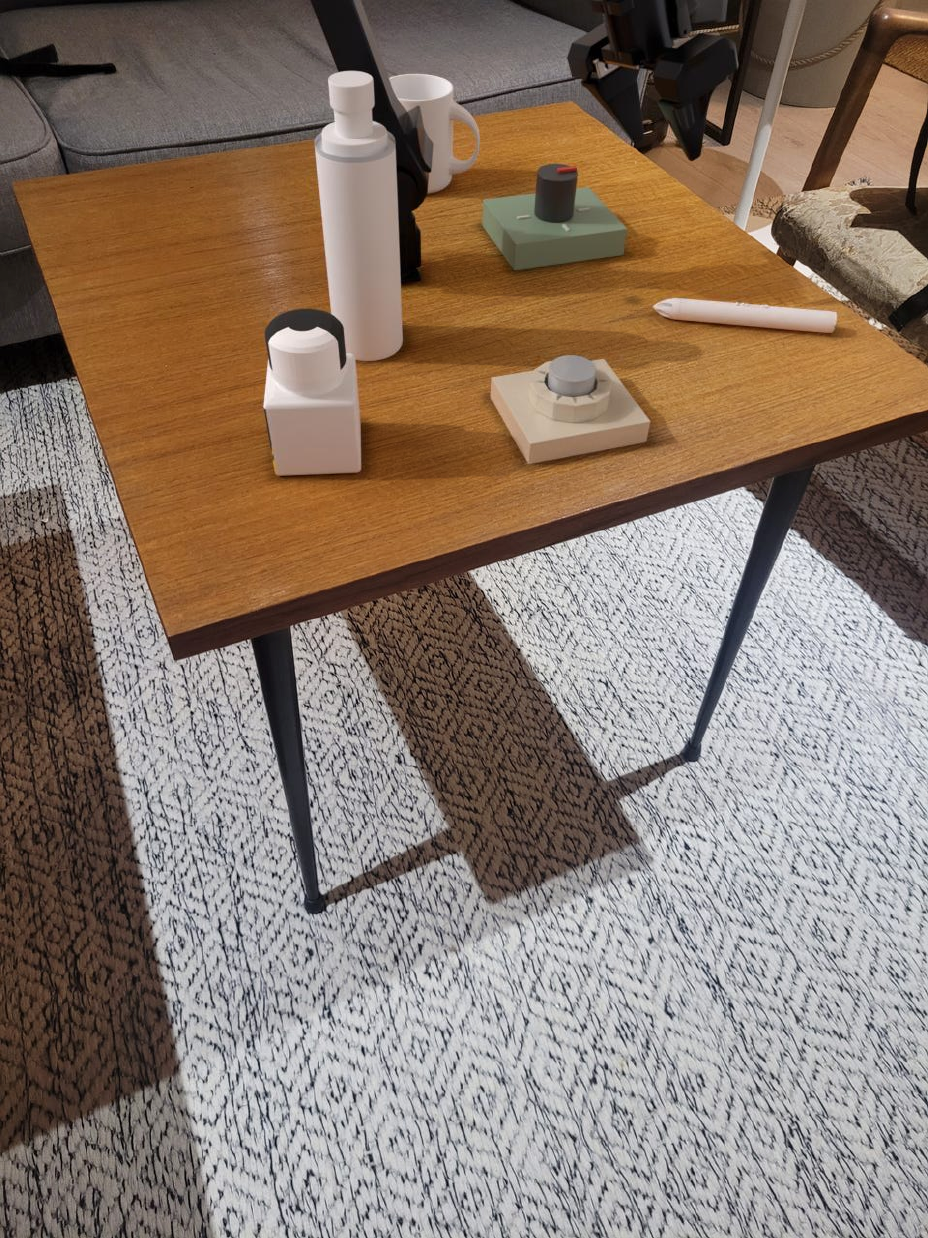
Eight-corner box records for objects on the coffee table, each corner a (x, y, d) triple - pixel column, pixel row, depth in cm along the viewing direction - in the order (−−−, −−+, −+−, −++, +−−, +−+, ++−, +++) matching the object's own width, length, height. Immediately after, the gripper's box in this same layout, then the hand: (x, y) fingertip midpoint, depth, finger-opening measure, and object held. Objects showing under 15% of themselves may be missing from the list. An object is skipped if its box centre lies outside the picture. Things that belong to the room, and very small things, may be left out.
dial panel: (513, 270, 100) (515, 242, 97) (481, 225, 106) (482, 197, 104) (623, 255, 102) (627, 227, 100) (585, 211, 109) (588, 184, 107)
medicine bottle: (279, 425, 81) (258, 299, 72) (360, 422, 81) (350, 296, 72) (275, 477, 76) (252, 349, 67) (361, 474, 76) (350, 346, 67)
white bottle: (407, 358, 88) (397, 68, 69) (337, 364, 87) (309, 72, 68) (397, 321, 92) (386, 39, 73) (331, 327, 91) (302, 43, 73)
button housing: (528, 464, 78) (531, 425, 75) (490, 397, 84) (492, 359, 81) (646, 441, 80) (654, 403, 77) (600, 378, 86) (606, 340, 83)
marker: (650, 321, 93) (654, 300, 91) (650, 310, 95) (654, 289, 93) (831, 337, 92) (839, 316, 90) (828, 326, 93) (836, 305, 91)
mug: (469, 203, 110) (472, 107, 102) (374, 191, 112) (369, 95, 104) (485, 174, 116) (489, 80, 108) (394, 162, 117) (391, 69, 109)
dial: (542, 224, 100) (546, 179, 97) (528, 207, 103) (531, 162, 99) (579, 219, 101) (584, 175, 98) (564, 202, 104) (569, 158, 100)
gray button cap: (557, 402, 78) (559, 384, 76) (540, 376, 80) (542, 358, 79) (601, 394, 78) (603, 376, 77) (583, 368, 81) (585, 351, 80)
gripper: (777, -76, 72) (798, 121, 83) (641, -78, 86) (675, 93, 96) (663, -4, 71) (699, 186, 82) (544, -17, 85) (589, 148, 96)
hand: (666, 149), depth 89 cm, fingers open, 9 cm apart
